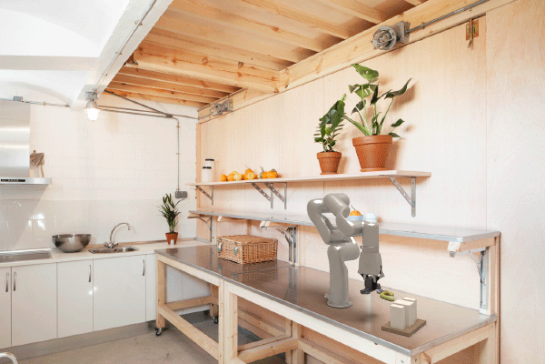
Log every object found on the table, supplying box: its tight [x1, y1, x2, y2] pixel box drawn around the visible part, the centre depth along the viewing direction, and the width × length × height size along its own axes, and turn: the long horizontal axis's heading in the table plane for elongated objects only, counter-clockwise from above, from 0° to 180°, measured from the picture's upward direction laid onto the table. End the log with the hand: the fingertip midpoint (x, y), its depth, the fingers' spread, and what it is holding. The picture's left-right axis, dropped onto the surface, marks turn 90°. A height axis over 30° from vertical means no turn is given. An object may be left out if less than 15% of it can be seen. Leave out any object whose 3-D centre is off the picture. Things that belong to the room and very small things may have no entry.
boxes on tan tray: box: [380, 297, 427, 338], centre depth 159 cm, size 12×19×10 cm, turn 138°
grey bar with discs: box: [359, 275, 382, 295], centre depth 170 cm, size 5×16×6 cm, turn 138°
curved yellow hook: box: [375, 288, 395, 302], centre depth 208 cm, size 8×3×25 cm
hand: (370, 288), depth 170 cm, fingers closed on grey bar with discs, 3 cm apart
